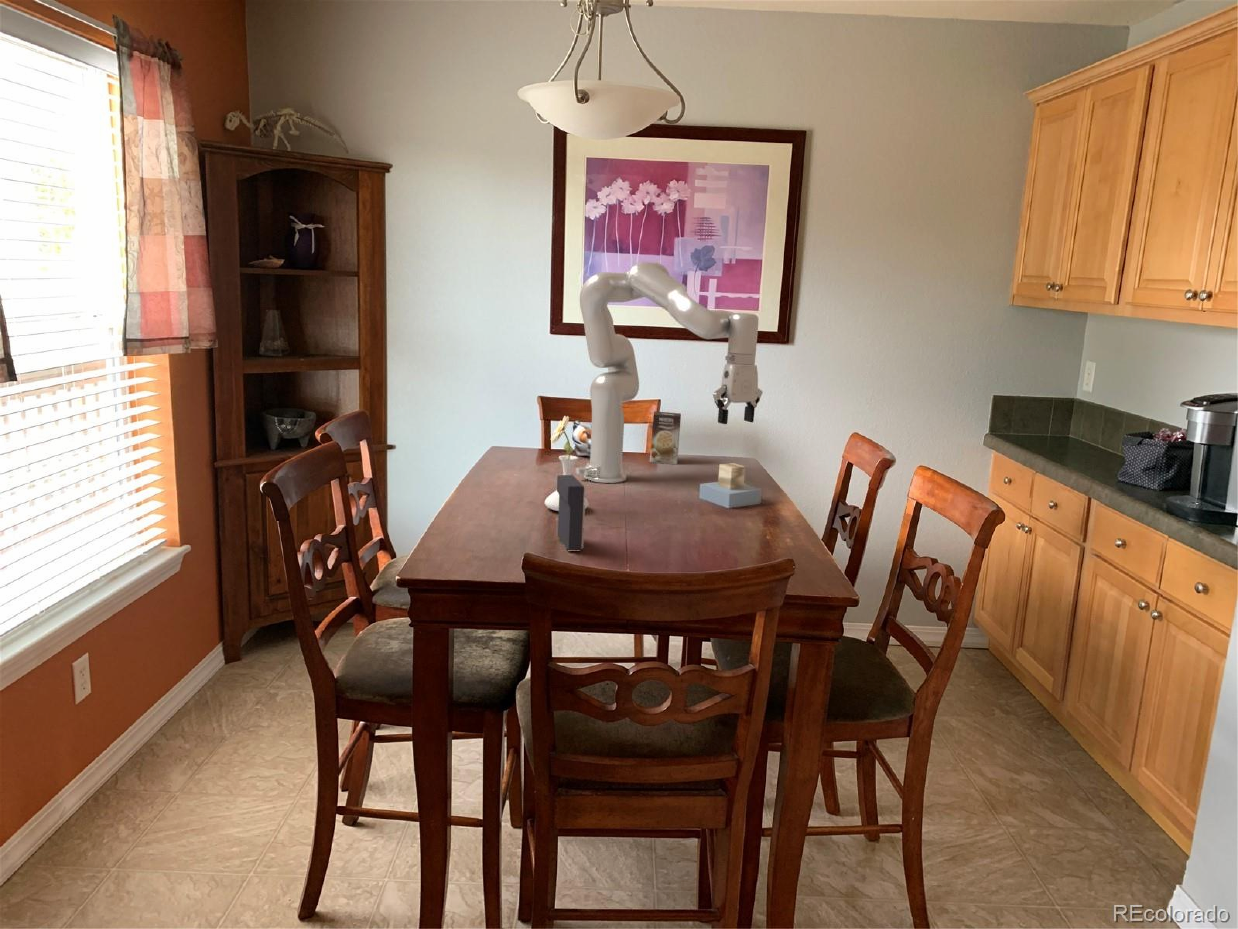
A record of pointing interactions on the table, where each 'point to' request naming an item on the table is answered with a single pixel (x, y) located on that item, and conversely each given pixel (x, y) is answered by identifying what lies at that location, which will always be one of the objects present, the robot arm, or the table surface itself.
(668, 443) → the coffee box
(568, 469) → the flower in vase
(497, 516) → the table surface
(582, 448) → the lucky cat figurine
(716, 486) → the base block
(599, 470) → the robot arm
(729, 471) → the birch block
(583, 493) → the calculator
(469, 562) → the table surface
